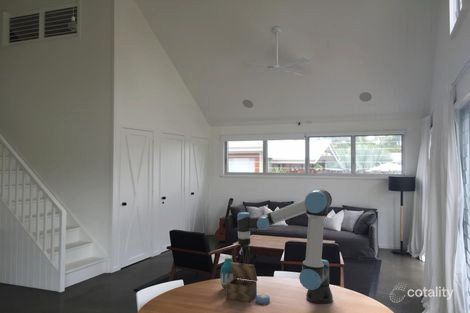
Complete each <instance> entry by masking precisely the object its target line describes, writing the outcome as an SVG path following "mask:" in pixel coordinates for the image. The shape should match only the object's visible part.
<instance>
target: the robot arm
mask: <svg viewBox="0 0 470 313" xmlns="http://www.w3.org/2000/svg"><path fill="white" fill-rule="evenodd" d="M332 203H333V197H332V195H331V193H330V192H329V191H327V190H325V189H317V190H313V191H310V192H308V194H306V196H305V198H304V199H302V200H300V201H296V202H295V203H292V204H289V205H286V206H284V207H281V208H279V209H276V210H273V211H271V212H267V213H265V214H262V215H258V216H253V215H252V216H251V215H250V213H249V212H248V211H247V212H245V211H244V212H243V211H241V212H238V213H237V220H236V221H237V237H238V239H237V244H238V245H239V246H240V248H239V250H238V251H237V252H238V255H239V261H240V262H239V263H244V264H250V253H251V247H250V246H249V245H250V244H251V229H252V230H259V231H260V230H261V231H262V230H263V231H266V230H267V229H268V228H269V227H270V226H272V225H275V224H278V223H281V222H283V221H286V220H290V219H292V218H295V217H297V216H300V215H303V214H305V215H306V216H307V217H308V219H307V220H308V221H307V234H306V235H307V236H306V247H305V248H306V250H305V260H303V261H302V266H301V268H302V269H301V271H300V273H299V275H298V276H299V277H298V278H299V282H300V285H301V286H302V287H303V288H305V289H306V290H307V291H306V297H305V298H306V301H308V302H311V303H314V304H319V305H320V304H322V305H324V304H330V303H332V302H333V301H334V300H333V298H334V297H333V293H332V291H331V290H332V289H331V287H330V263H329V262H330V261H328V260H327V259H322V257H323V255H322V254H323V242H324V241H323V240H324V227H325V219H326V218H327V217H328V213H329V211H328V210H329V208H330V207H331V205H332Z"/></svg>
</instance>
